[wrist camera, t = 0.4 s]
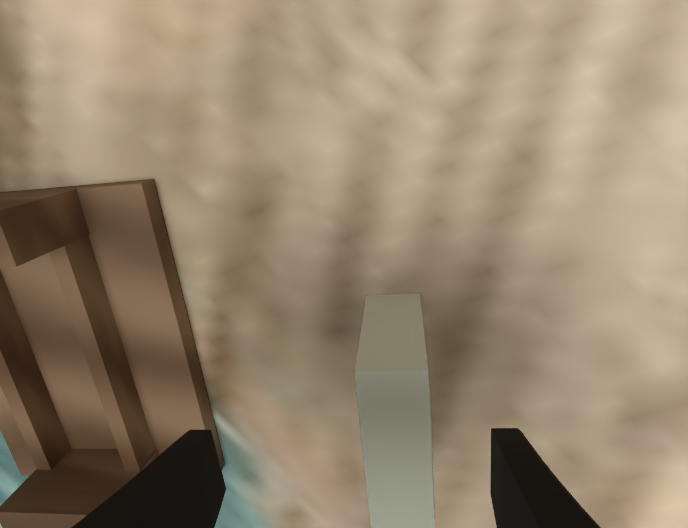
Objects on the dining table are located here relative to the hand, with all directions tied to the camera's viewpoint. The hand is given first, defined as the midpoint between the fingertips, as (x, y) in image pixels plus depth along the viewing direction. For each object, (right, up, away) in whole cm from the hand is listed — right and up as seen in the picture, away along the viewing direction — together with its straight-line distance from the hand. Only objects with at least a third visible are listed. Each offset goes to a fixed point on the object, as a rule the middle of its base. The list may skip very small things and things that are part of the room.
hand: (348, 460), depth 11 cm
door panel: (+3, 0, +10) cm, 10 cm away
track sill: (-14, +1, +12) cm, 18 cm away
